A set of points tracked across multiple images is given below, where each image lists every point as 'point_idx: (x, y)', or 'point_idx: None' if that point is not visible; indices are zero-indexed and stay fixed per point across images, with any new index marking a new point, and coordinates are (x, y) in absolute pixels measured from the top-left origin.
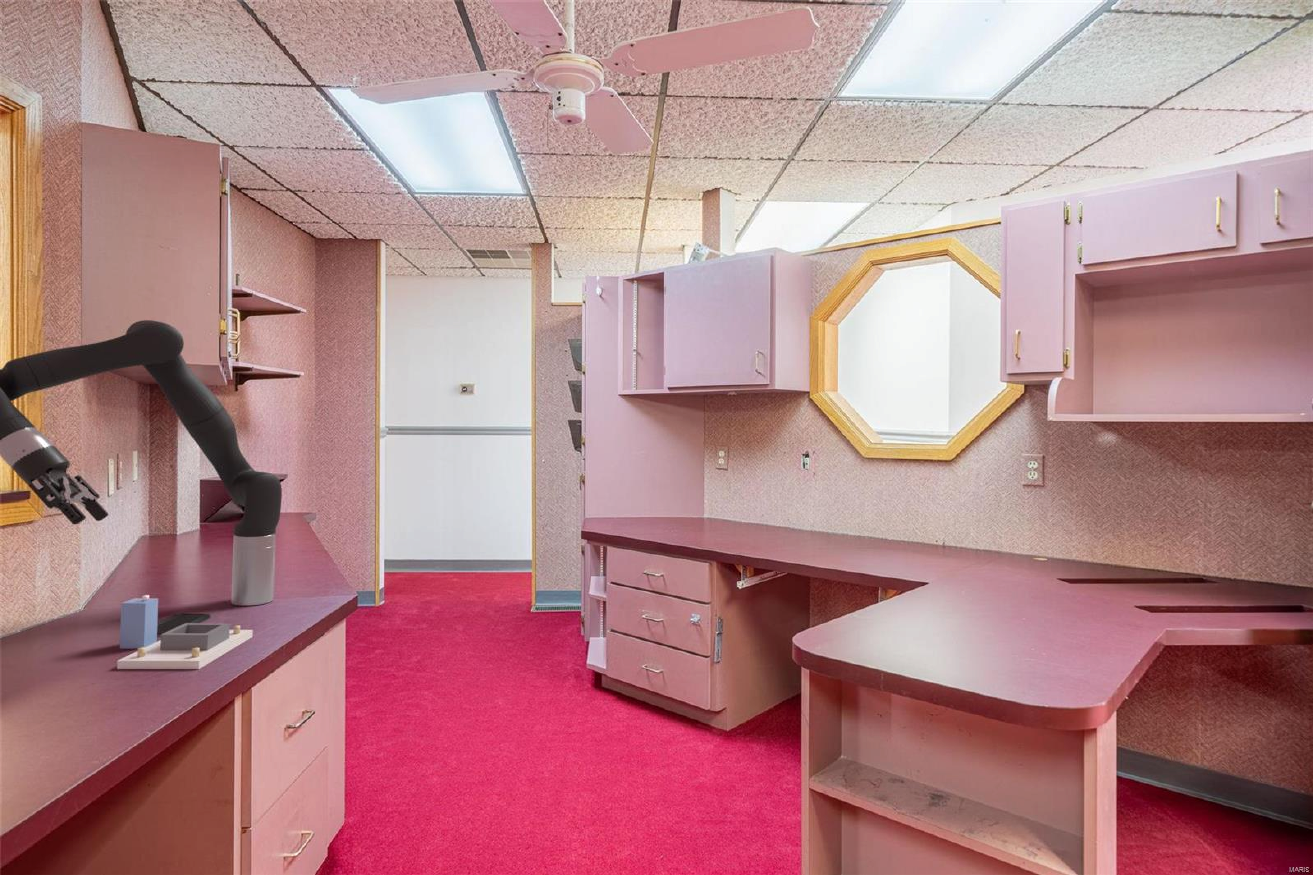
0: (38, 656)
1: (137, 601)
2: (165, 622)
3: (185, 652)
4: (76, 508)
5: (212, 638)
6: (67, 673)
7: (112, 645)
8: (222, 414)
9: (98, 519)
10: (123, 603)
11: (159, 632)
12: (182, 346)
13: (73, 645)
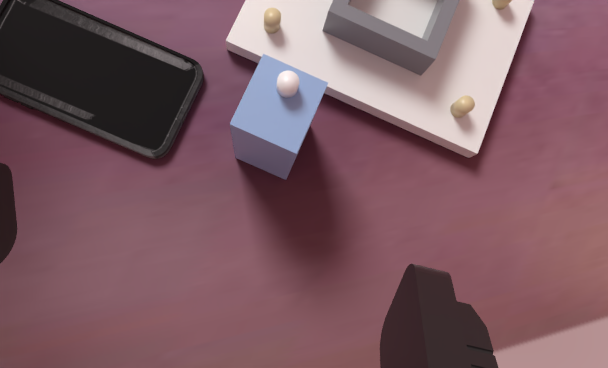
0: (288, 354)
1: (289, 109)
2: (65, 97)
3: (459, 23)
4: (461, 361)
5: None
6: (464, 252)
7: (248, 201)
8: None
9: (10, 237)
10: (298, 147)
11: (191, 100)
12: None
13: (206, 296)
